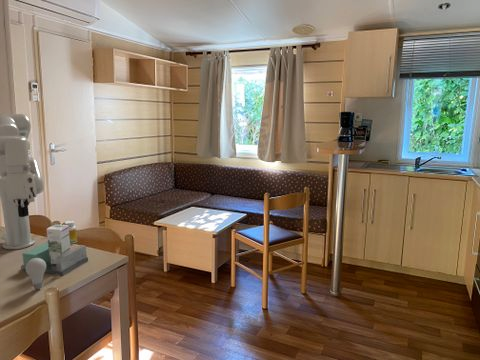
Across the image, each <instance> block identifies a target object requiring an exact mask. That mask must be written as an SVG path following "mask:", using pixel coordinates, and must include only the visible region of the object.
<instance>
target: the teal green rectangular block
mask: <svg viewBox="0 0 480 360" xmlns="http://www.w3.org/2000/svg"><path fill="white" fill-rule="evenodd" d="M34 258H40V259H43V260H44V261H45V263H47V262H49V261H50V258H49V248H48V241H47V242H45V243H43V244H41V245H38V246H36V247H34V248H32V249H29V250H27V251H25V252H23V253H22V260H23V265H24V266H26V264H27V263H28V262H29V261H30V260H31V259H34Z"/></svg>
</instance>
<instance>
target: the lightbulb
mask: <svg viewBox="0 0 480 360" xmlns="http://www.w3.org/2000/svg"><path fill="white" fill-rule="evenodd" d="M45 270H46V263H45V261H44V260H43V259H40V258H34V259H31V260H30V261H29V262H28V263H27V264H26V270H25V272H26V274H27V275H28V276H29V277H30V279H31V283H32V286H33V289H35V290H41V288H42V287H43V281H44V279H43V278H44V274H45V273H44V272H45Z"/></svg>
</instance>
